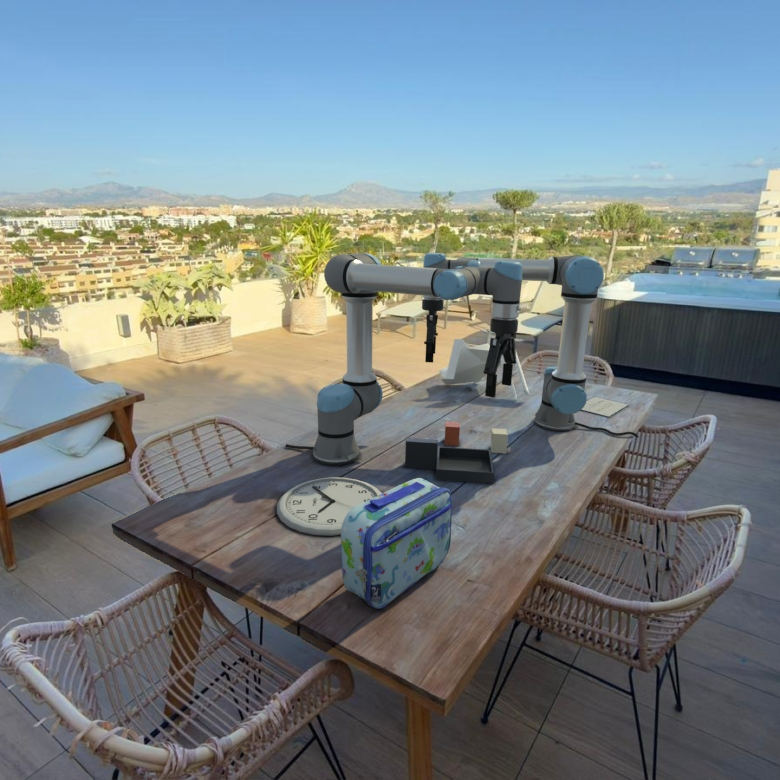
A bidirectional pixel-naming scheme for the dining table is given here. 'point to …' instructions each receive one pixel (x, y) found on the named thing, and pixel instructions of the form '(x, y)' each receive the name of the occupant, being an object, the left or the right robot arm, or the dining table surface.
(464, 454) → the tray
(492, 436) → the cream block
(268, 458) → the dining table surface
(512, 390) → the white plastic object
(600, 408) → the invitation card
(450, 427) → the terracotta block
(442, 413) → the dining table surface
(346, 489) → the wall clock
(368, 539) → the lunch box
